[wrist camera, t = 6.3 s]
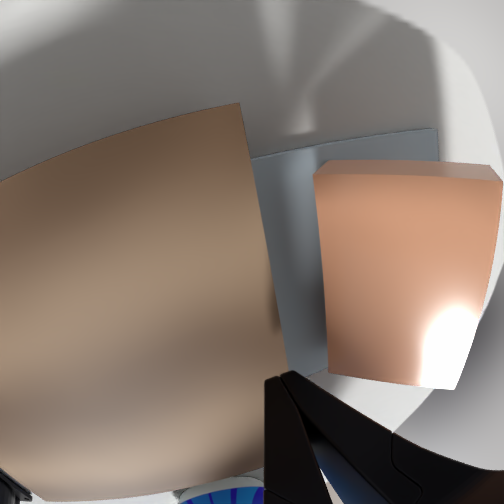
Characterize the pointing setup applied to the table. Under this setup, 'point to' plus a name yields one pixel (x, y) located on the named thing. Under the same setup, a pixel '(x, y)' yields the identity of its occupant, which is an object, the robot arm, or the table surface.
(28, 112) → the table surface
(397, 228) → the peach rectangular block
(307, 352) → the mat
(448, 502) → the robot arm
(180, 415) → the brown box
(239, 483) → the beer can
